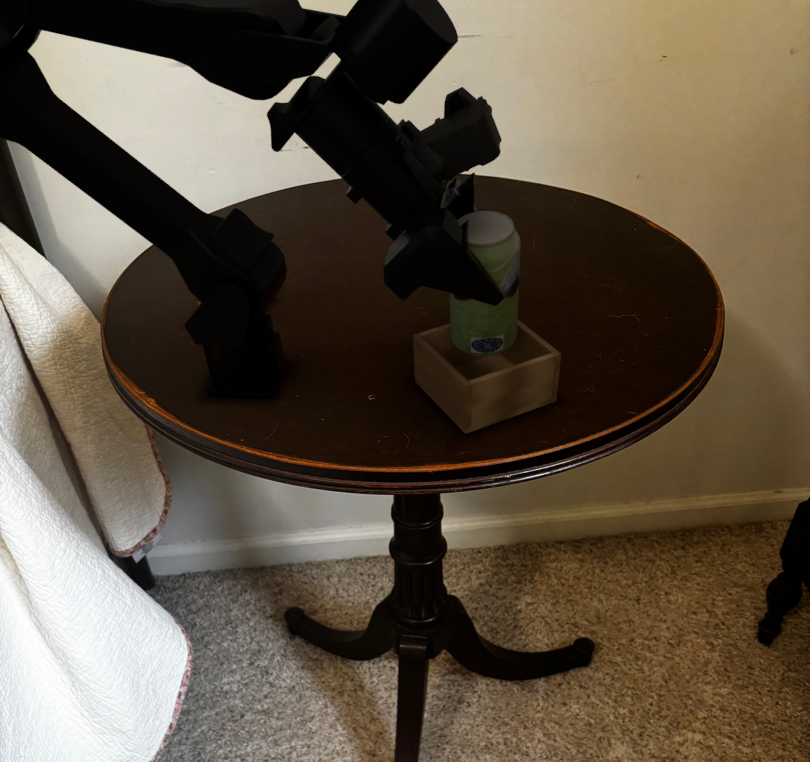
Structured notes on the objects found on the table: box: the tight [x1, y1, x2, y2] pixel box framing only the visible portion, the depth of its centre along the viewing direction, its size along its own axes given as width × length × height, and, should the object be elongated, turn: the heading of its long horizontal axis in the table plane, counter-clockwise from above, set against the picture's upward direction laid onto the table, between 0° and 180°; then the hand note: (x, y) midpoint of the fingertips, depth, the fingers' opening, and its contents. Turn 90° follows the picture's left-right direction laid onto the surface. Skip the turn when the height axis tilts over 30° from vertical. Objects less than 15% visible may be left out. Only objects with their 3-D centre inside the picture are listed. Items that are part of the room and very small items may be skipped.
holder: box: [412, 319, 562, 435], centre depth 74 cm, size 10×10×5 cm
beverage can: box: [448, 210, 521, 357], centre depth 69 cm, size 6×7×12 cm
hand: (501, 284), depth 68 cm, fingers closed on beverage can, 6 cm apart
